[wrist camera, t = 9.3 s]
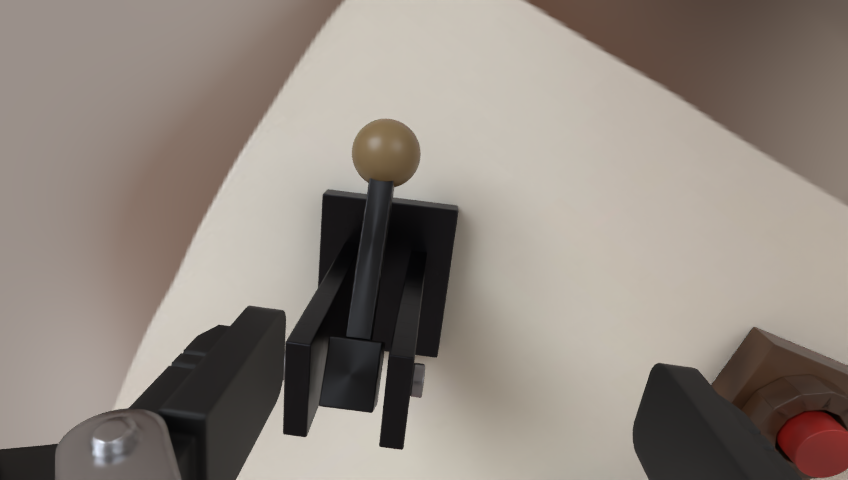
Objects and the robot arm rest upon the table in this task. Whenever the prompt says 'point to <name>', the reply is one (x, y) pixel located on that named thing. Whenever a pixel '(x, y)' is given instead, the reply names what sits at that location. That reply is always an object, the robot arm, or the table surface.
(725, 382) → the button block
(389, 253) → the switch bracket
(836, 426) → the button
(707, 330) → the table surface
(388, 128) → the switch lever
